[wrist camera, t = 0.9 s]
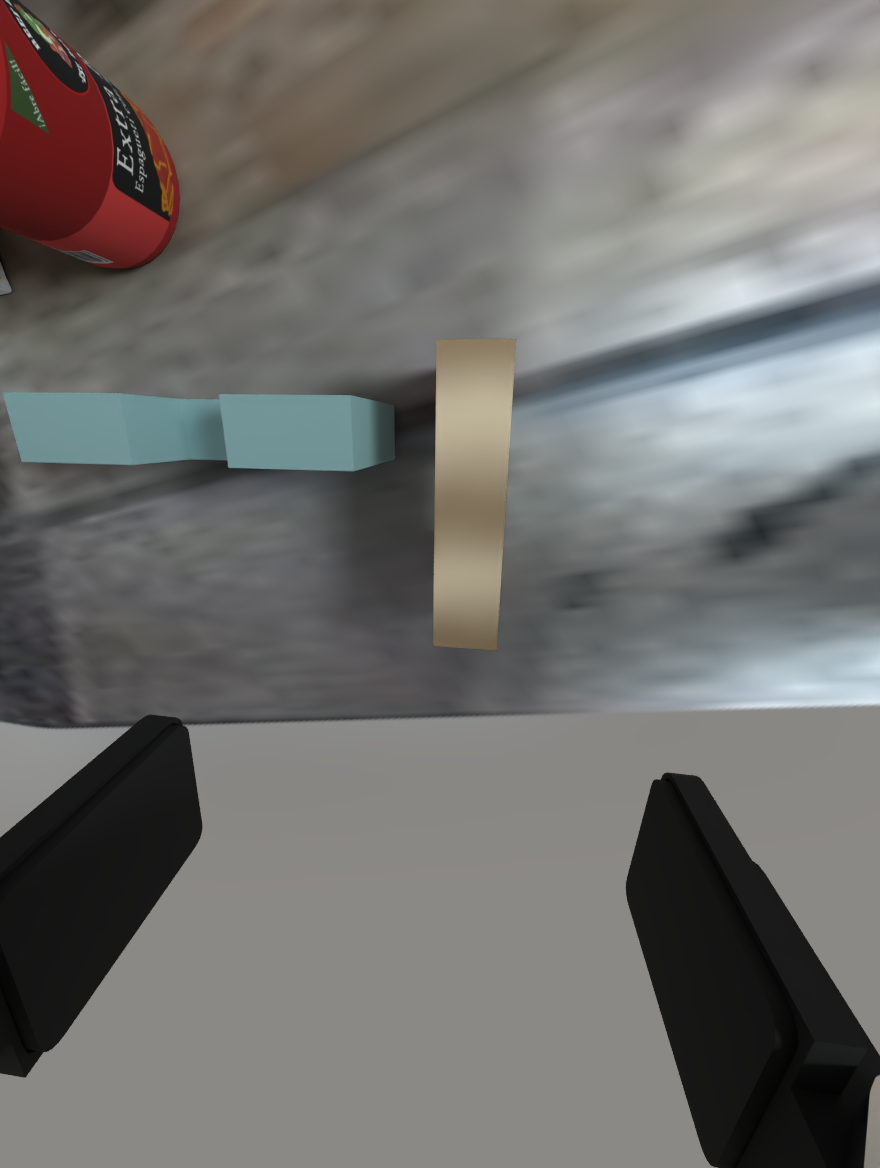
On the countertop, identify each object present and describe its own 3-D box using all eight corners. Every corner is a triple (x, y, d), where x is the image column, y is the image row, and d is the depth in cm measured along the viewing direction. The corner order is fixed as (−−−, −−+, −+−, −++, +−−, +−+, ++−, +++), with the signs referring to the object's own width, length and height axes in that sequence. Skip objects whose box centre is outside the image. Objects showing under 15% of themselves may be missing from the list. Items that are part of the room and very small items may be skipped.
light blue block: (394, 404, 26) (350, 395, 18) (395, 459, 27) (353, 471, 19) (137, 402, 28) (2, 392, 20) (147, 453, 29) (21, 461, 21)
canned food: (213, 219, 24) (-4, 63, 14) (109, 304, 26) (-148, 223, 16) (123, 57, 22) (-202, -262, 12) (19, 161, 24) (-335, -34, 14)
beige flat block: (456, 366, 25) (436, 339, 17) (511, 366, 24) (516, 339, 17) (450, 589, 29) (433, 646, 22) (497, 592, 29) (496, 650, 21)
